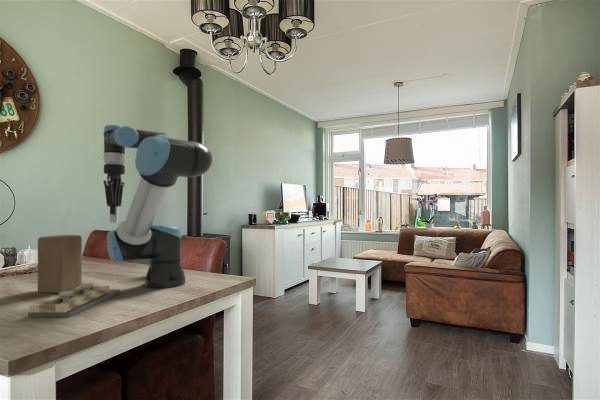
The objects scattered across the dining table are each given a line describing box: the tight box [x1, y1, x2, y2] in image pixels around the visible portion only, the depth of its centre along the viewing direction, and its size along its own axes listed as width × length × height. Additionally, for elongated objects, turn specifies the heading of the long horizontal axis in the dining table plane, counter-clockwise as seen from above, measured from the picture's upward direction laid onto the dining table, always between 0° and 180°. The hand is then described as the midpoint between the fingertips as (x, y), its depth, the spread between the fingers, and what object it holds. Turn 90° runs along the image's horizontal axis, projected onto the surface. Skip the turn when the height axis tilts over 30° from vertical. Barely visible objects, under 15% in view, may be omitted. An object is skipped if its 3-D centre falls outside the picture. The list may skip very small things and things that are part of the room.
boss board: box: [27, 282, 120, 318], centre depth 111 cm, size 26×12×5 cm, turn 0°
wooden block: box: [37, 234, 83, 294], centre depth 128 cm, size 10×10×20 cm
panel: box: [28, 285, 110, 313], centre depth 108 cm, size 22×10×2 cm, turn 0°
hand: (114, 222), depth 141 cm, fingers closed
